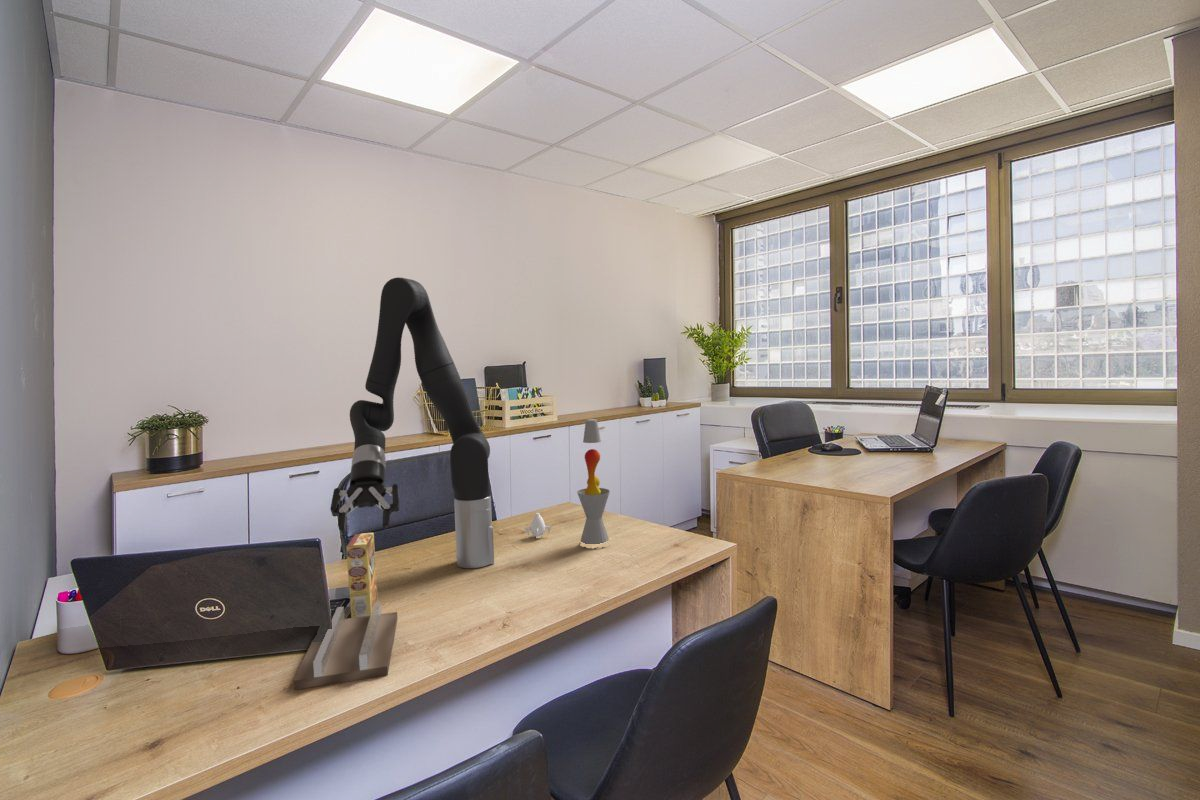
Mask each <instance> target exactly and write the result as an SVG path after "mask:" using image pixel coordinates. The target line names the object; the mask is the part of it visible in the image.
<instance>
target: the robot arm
mask: <svg viewBox="0 0 1200 800" xmlns="http://www.w3.org/2000/svg"><path fill="white" fill-rule="evenodd" d="M379 302H380V303H379V315H378V322H377V323H378V326H377V332H376V339H375V344H374V345H375V346H374V350H373V353H372V354H373V355H372V358H371V363H370V367H369V370H368V373H367V378H366V380H365V385H364V387H365V390H366V391H367V392H369V393H370V394H373V395H374V396H377V397H378V398H380V399H382V402H381V403H379V402H376V401H375V402H374V401H370V400H364V399H359V400H357V401H355V402H354V403H353V404H351V407H350V409H349V422H350V425H351V428H352V431H353V435H354V436H353V437H354V446H353V447H354V448H353V455H352V459H351V468H350V476H349V477H350V478H349V487H348V488H347V489H344V490H343V489H342V490H340V488H339V487H336V488H334V490H333V493H332V494H333V495H332V498H331V502H330V503H331V504H330V508H329V510H330V512H331V516H333V517H338V519H337V520H338V522H337V526H338V529H339V530H340V531H341V533H346V531H347V522H348V518H347V516H348V515H349V514H350V513H353V511H355V510H356V509H357V508H359V509H360V508H361V509H362V508H367V507H368V508H373V507H375V506H377V507H378V508H379V509H380V510H382V528H383V530H385V529H387V528H388V527H389V526H390V524H391V516H392V515H391V514H392V513H393V512H399V511H400V497H399V496H400V494H399V486H398V484H397V483H395V484H393V485H392V486H385V484H386V483H385V480H386V479H385V478H386V468H387V465H386V463H387V462H386V435H385V434H384V432H387V431H388V430H390V428H392V426H393V424H394V419H395V417H394V416H395V414H394V412H395V409H394V398H395V397H394V395H395V388H396V385H397V382H398V377H399V374H400V370H401V365H402V338H403V332H404V329H405V326H406V327H407V329H408V331H409V333H410V336H411V339H412V344H413V350H414V351H413V352H414V353H413V354H414V363H415V368H416V372H417V374H418V377H419V379H420V381H421V384H422V386H423V389H424V392H425V393H426V395H427V396H428V398H429V400H430V401H431V403H432V404H433V406H434V408H436V410H437V411H438V412H439V414H440V416H441V417H442V419H443V420H444V422H445V424H446V427H447V429H448V432H449V435H450V436H451V437H450V438H451V441H452V446H451V447H450V453H449V454H450V455H449V462H450V463H449V464H450V475H451V476H450V477H451V487H452V491H453V501H454V502H453V508H454V526H455V529H454V530H455V531H454V532H455V550H456V566H458V567H460V568H464V569H478V568H483V567H487V566H489V565H494V564H495V550H494V549H495V547H494V543H495V542H494V528H493V521H492V517H493V516H492V497H491V495H492V492H491V484H490V478H489V477H490V476H489V475H490V474H489V457H490V454H491V448H490V447H491V446H490V443H489V441H488V439H487V437H486V436H485V434H484V432H483V431H482V428H481V427H480V425H479V423H478V421H477V420H476V418H475V416H474V414H473V411H472V409H471V405H470V402H469V399H468V396H467V392H466V390H465V388H464V384H463V383H462V379H461V377H460V374H459V372H458V368H457V367H456V364H455V362H454V360H453V358H452V356H451V354H450V351H449V348H448V347H447V345H446V342H445V340H444V337H443V336H442V333H441V331H440V329H439V327H438V326H439V325H438V324H437V319H436V318H435V313H434V311H433V309H432V308H433V307H432V305H431V304H432V303H431V301H430V298H429V295H428V292H427V290H426V289H425V287H424V285H422V284H421V283H420V282H419V281H416V280H414V279H409V278H405V277H399V276H398V277H394V278H390V279H389V280H388V281H386V282H385V284H384V285H383V287H382V290H381V295H380V301H379ZM387 493H388V495H389V497H392V503H391V504H389V503H388V502H387V501H386V499H385V498H384V497H385V496H386V494H387ZM345 497H348V498H347V500H346V501H345V503H343V505H342V506H341V507H340V504H341V501H343V500H344V498H345Z"/></svg>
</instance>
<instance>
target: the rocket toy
mask: <svg viewBox="0 0 1200 800" xmlns="http://www.w3.org/2000/svg"><path fill="white" fill-rule="evenodd" d="M540 514H541V513H540V512H538V511H536V513H535V514H534V517H533V518H532V520H531V523H530V524H531V525H529V526H525V527H524V529H525V532H526V534H527V536H528V535H529V536H530V533H529V531H530V532H531V534H532V536H533V537H534V536H537V537H538V536H540V535H543V534H545V531H546V530H547V534H548V533H549V534H550V531H551V529H552V526H551V525H546V524H545V520H544V519H543V517H542V515H540ZM543 536H544V535H543Z"/></svg>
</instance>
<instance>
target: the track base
mask: <svg viewBox="0 0 1200 800" xmlns="http://www.w3.org/2000/svg"><path fill="white" fill-rule="evenodd" d="M381 604H382V603H381V601H377V602H375V603H374V605H373V609H372V612H371V615H370V616H363V617H355V618H351V617H348V618H346V617H345V606H339V607H336V609H335V612H334V614H333V616H332V618H331V621H332V629H328V630H327V632H326V634H325V637H324V639H323V641H322V642H312V641H311V643H310V645H309V647H308V649H307V651H306V654H305V656H304V658H303V659H302V662H301V664H300V667H299V668H298V670H297V673H296V675H295V677H294V678H293V690H294V691H296V690H297V691H298V690H303V689H307V688H315V687H321V686H327V685H333V684H339V683H345V682H352V681H357V680H365V679H371V677H372V678H377V677H383V676H384V675H385V676H388V675H389V670H390V664H391V660H392V659H391V657H392V654H393V652H392V651H393V648H394V647H393V646H394V640H395V635H396V630H397V623H398V612H397V611H394V612H388V613H382V605H381Z"/></svg>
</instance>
